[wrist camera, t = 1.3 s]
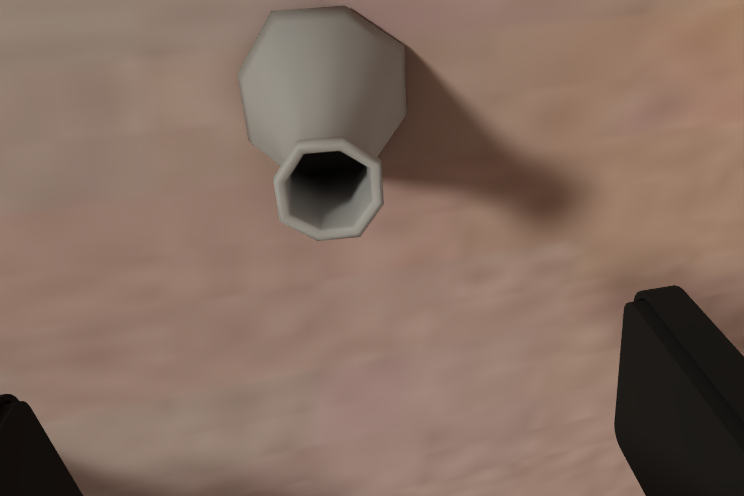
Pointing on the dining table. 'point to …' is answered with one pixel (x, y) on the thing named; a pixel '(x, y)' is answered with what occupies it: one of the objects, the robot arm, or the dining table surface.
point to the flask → (324, 114)
